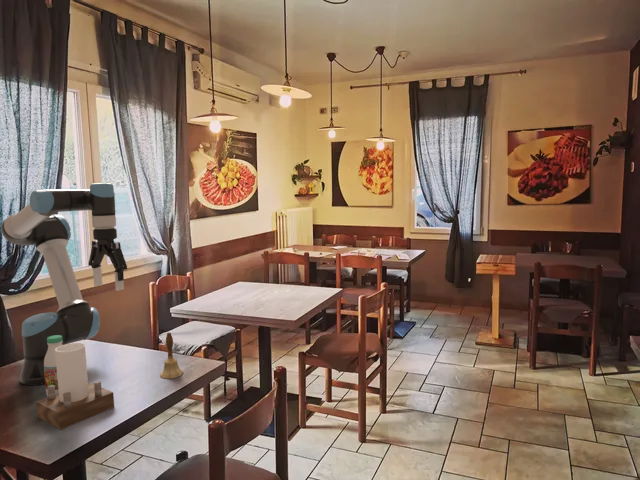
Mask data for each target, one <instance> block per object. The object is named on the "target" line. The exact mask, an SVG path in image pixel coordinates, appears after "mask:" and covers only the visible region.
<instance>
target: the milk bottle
mask: <svg viewBox="0 0 640 480" xmlns="http://www.w3.org/2000/svg"><path fill="white" fill-rule="evenodd" d="M62 342H63V341H62V336H61V335H54V336H50V337H48V338H47V344H48V350H47V353H46V355H45V358H44V375H45V384H44V387H45V394H46V396H47V397H48V390H47V387H48V386H50V385H55V395H56V394H59V390H58V378H57V366H56V354H55V349H56V348H57V347H59V346H62Z"/></svg>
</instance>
